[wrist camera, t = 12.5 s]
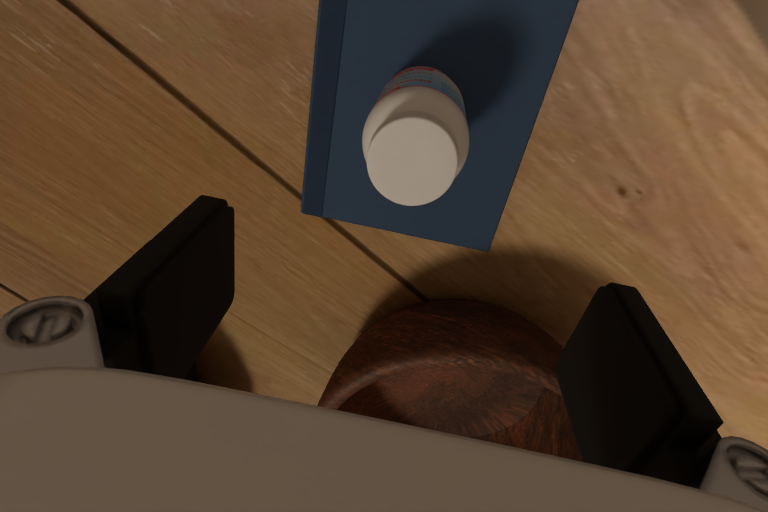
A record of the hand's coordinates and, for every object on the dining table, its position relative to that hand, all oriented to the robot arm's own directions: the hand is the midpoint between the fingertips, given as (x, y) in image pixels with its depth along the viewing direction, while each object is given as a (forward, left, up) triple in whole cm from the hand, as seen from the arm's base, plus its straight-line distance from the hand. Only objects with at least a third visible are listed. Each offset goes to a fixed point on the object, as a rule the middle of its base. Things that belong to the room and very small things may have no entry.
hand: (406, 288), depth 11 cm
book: (+1, 0, -23) cm, 23 cm away
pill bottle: (+1, 0, -23) cm, 23 cm away
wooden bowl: (+26, +9, -24) cm, 36 cm away
